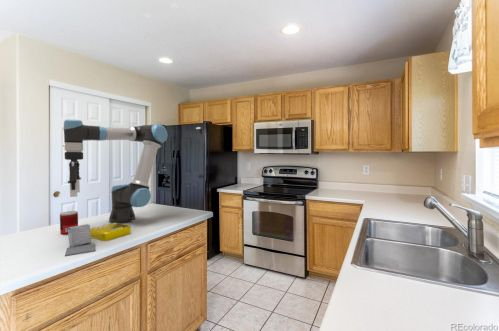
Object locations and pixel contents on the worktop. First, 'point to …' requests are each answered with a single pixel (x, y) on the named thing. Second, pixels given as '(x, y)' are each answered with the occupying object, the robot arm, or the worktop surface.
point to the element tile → (110, 231)
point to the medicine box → (79, 235)
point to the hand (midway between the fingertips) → (75, 194)
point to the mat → (80, 249)
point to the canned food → (68, 221)
